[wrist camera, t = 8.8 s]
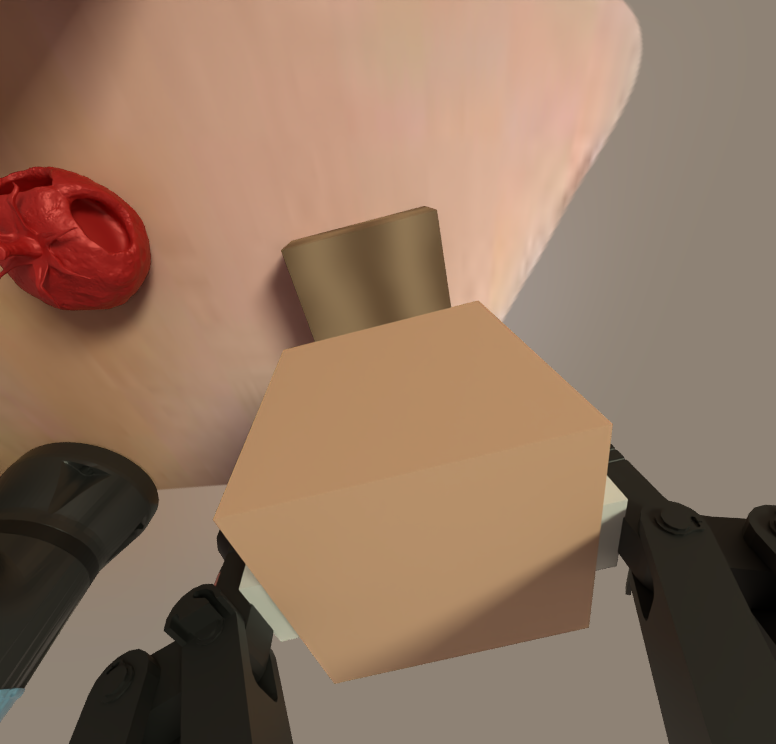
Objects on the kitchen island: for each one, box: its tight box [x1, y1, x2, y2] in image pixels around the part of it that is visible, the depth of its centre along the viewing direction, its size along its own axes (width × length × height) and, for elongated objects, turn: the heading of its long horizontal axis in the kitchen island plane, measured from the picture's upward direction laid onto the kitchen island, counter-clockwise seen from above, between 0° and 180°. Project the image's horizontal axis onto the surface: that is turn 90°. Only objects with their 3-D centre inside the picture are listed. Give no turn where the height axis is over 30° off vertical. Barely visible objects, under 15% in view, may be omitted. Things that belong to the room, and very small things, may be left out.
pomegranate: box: [0, 167, 151, 310], centre depth 25 cm, size 10×10×9 cm
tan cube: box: [213, 301, 613, 684], centre depth 12 cm, size 8×8×8 cm
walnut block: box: [281, 206, 451, 342], centre depth 31 cm, size 12×12×5 cm
